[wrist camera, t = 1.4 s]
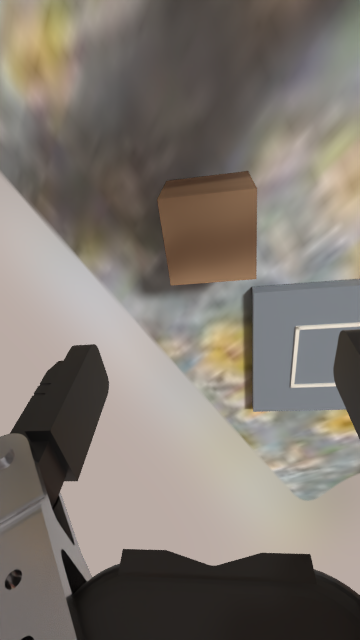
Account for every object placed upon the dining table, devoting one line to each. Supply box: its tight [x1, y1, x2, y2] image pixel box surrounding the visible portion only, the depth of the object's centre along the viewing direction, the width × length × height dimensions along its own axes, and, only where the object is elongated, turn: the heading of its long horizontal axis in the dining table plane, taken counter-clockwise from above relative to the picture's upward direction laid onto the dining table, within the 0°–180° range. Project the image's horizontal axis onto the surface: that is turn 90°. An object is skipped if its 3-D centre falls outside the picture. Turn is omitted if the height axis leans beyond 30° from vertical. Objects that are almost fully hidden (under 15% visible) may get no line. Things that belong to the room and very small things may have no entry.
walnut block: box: [157, 171, 257, 285], centre depth 21 cm, size 6×6×5 cm
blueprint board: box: [252, 279, 360, 412], centre depth 29 cm, size 14×14×1 cm
